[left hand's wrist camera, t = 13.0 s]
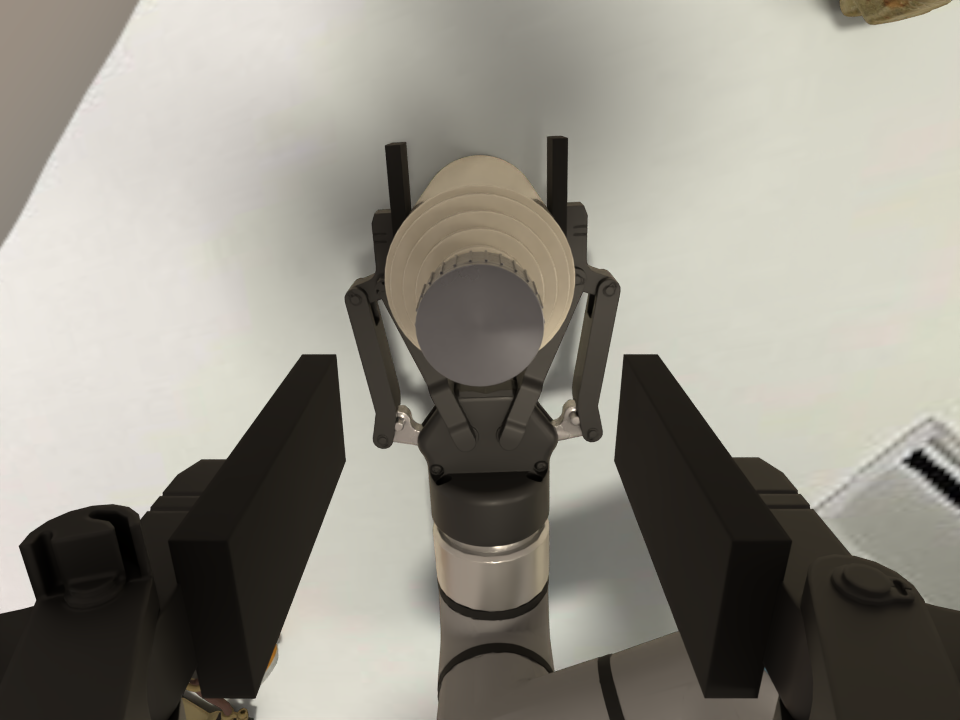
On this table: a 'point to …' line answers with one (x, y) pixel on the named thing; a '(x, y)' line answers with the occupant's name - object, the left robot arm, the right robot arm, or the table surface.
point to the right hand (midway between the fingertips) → (476, 141)
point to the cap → (479, 319)
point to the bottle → (480, 237)
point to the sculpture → (888, 9)
